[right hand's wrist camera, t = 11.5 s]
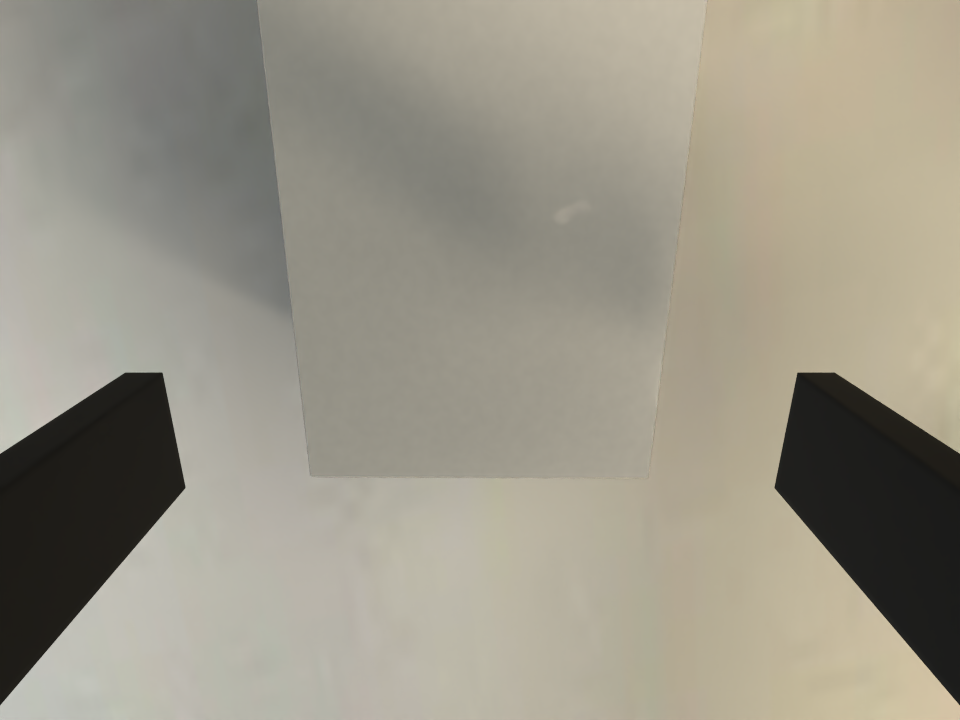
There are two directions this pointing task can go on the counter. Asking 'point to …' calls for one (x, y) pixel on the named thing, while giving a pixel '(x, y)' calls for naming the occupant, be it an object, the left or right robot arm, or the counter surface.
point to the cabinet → (480, 227)
